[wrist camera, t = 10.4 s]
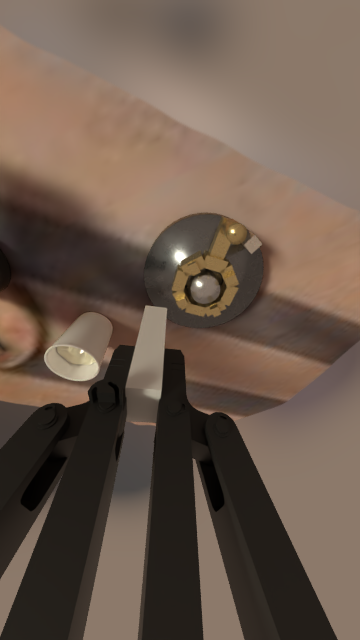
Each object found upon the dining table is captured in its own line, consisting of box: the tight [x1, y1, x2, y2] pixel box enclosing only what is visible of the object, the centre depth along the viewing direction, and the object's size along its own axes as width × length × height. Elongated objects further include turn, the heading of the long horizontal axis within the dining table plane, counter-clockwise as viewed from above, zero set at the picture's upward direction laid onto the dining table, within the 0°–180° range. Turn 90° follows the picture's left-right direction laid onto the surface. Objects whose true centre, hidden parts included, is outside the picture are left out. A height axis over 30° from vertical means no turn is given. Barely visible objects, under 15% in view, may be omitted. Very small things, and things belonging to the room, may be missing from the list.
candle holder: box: [44, 312, 113, 381], centre depth 41 cm, size 10×10×12 cm
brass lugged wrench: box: [172, 216, 247, 317], centre depth 31 cm, size 17×11×7 cm, turn 163°
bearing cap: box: [144, 213, 264, 328], centre depth 35 cm, size 22×22×7 cm
